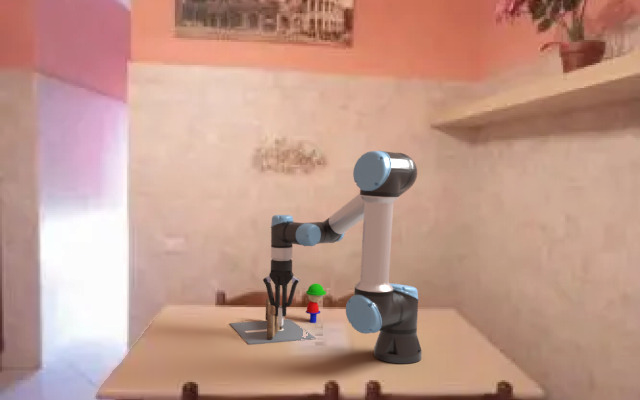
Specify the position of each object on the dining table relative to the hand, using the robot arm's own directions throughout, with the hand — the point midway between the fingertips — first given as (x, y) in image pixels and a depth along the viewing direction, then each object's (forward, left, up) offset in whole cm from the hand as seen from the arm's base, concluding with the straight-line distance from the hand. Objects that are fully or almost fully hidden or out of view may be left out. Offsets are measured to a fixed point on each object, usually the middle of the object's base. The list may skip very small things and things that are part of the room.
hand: (280, 325), depth 202 cm
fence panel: (+1, +2, -3) cm, 4 cm away
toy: (+17, -20, -4) cm, 26 cm away
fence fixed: (+14, -2, -4) cm, 15 cm away
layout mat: (+8, +1, -4) cm, 9 cm away
